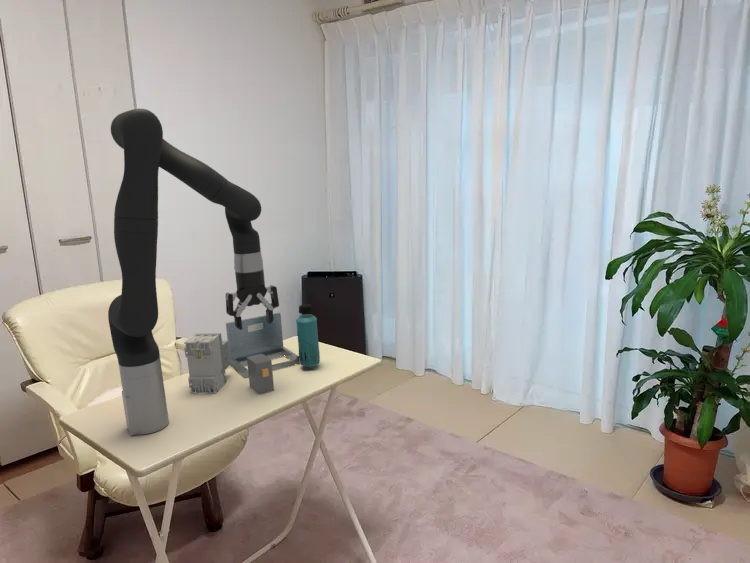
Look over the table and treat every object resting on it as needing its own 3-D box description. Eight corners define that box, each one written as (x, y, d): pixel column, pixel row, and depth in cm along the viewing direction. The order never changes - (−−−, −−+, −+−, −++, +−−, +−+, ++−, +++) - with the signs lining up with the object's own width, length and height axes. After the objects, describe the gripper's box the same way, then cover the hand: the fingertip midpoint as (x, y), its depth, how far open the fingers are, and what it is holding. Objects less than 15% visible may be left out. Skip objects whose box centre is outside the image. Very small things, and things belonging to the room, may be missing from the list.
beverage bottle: (323, 363, 170) (318, 302, 166) (317, 371, 164) (313, 307, 160) (302, 363, 171) (298, 302, 167) (296, 371, 165) (291, 308, 161)
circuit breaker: (233, 373, 165) (228, 326, 162) (215, 393, 151) (209, 342, 148) (210, 374, 166) (204, 327, 163) (190, 393, 152) (183, 342, 149)
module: (259, 395, 149) (256, 364, 147) (249, 386, 155) (246, 357, 153) (275, 391, 151) (272, 361, 149) (264, 382, 157) (261, 353, 155)
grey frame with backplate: (245, 377, 162) (240, 333, 159) (230, 365, 173) (225, 323, 170) (299, 363, 171) (296, 321, 168) (282, 352, 182) (279, 312, 179)
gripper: (227, 274, 140) (234, 334, 143) (279, 266, 147) (284, 324, 151) (218, 270, 146) (225, 328, 149) (268, 263, 153) (273, 318, 157)
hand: (255, 326), depth 150 cm, fingers open, 8 cm apart
